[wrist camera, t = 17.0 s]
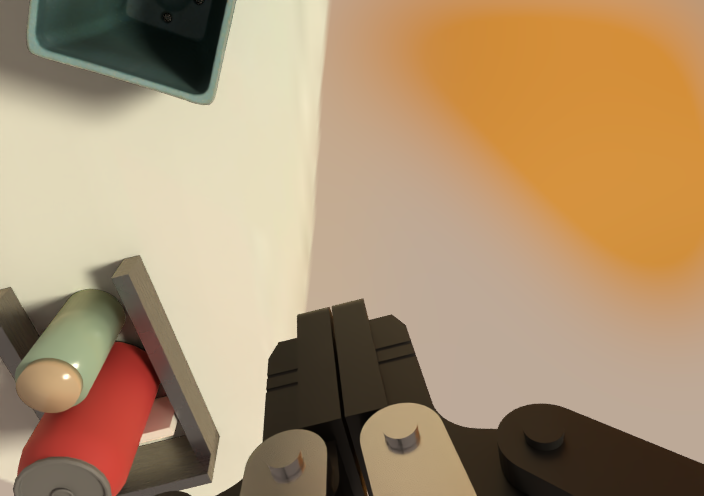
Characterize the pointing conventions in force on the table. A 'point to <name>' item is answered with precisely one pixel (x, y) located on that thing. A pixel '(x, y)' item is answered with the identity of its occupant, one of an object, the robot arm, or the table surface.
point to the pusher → (160, 421)
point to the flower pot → (137, 41)
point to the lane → (174, 374)
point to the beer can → (92, 432)
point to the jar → (70, 352)
